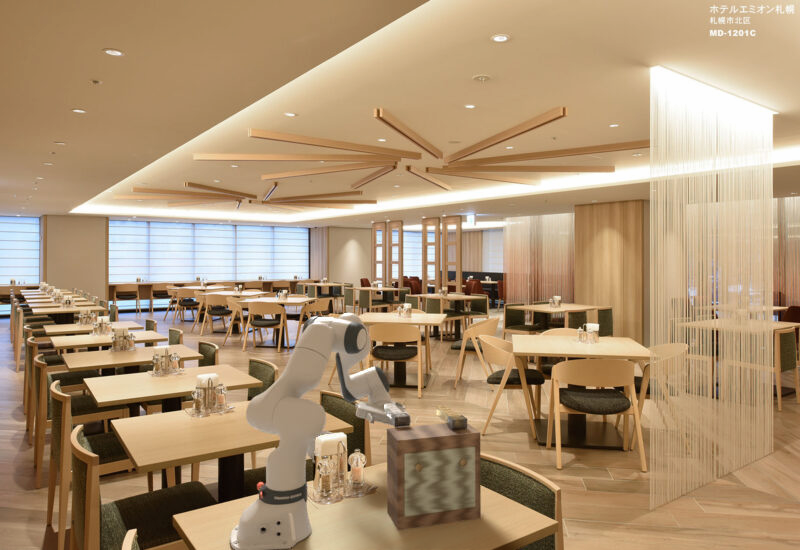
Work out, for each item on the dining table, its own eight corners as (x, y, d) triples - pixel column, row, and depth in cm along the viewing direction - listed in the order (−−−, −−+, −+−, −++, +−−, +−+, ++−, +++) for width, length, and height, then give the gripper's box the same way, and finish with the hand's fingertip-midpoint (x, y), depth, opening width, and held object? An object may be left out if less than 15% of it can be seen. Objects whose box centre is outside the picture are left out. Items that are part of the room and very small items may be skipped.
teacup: (300, 454, 216) (300, 430, 216) (337, 455, 215) (336, 430, 215) (293, 466, 204) (292, 440, 204) (331, 466, 203) (331, 440, 203)
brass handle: (452, 429, 162) (452, 420, 162) (433, 415, 178) (433, 406, 178) (467, 428, 163) (467, 418, 163) (447, 413, 179) (447, 405, 179)
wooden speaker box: (399, 533, 151) (398, 442, 151) (387, 512, 165) (386, 428, 164) (483, 520, 159) (482, 434, 158) (465, 501, 172) (464, 421, 171)
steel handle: (394, 427, 165) (394, 417, 165) (381, 412, 181) (381, 404, 181) (410, 425, 166) (410, 416, 166) (395, 411, 183) (395, 402, 183)
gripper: (357, 394, 197) (359, 409, 184) (409, 407, 201) (414, 422, 187) (352, 409, 198) (354, 426, 185) (404, 422, 202) (409, 439, 188)
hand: (385, 424), depth 186 cm, fingers open, 8 cm apart
